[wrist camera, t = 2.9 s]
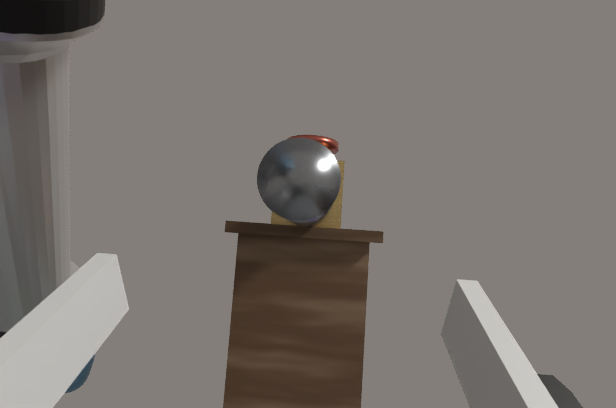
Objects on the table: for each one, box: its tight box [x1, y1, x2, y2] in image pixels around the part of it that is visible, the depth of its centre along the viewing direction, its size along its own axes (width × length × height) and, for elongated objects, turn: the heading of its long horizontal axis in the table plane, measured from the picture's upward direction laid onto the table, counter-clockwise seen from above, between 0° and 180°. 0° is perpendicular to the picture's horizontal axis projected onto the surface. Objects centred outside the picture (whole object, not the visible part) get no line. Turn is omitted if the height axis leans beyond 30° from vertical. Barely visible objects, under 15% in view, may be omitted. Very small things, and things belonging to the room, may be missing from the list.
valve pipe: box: [257, 135, 344, 229], centre depth 30 cm, size 24×7×10 cm, turn 179°
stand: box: [223, 221, 383, 408], centre depth 35 cm, size 14×14×30 cm
